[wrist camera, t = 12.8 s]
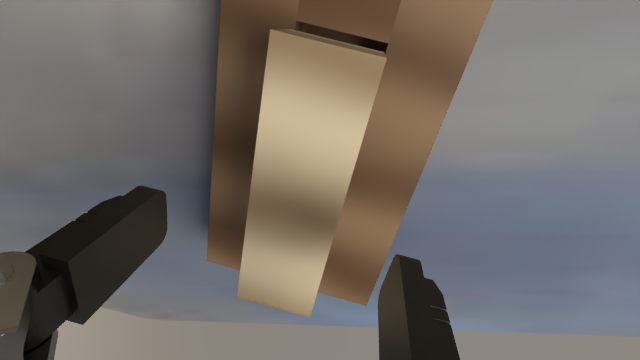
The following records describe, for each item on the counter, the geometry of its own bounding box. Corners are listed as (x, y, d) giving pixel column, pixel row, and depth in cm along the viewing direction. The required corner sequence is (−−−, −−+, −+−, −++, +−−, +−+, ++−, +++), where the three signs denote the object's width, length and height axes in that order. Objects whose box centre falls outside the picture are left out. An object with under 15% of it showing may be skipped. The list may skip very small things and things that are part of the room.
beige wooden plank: (312, 29, 17) (269, 29, 10) (381, 46, 17) (386, 58, 10) (278, 215, 23) (237, 296, 16) (328, 229, 23) (309, 317, 16)
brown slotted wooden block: (256, -60, 17) (225, -84, 13) (472, -9, 16) (501, -19, 13) (229, 229, 26) (206, 260, 22) (367, 267, 25) (366, 305, 22)
